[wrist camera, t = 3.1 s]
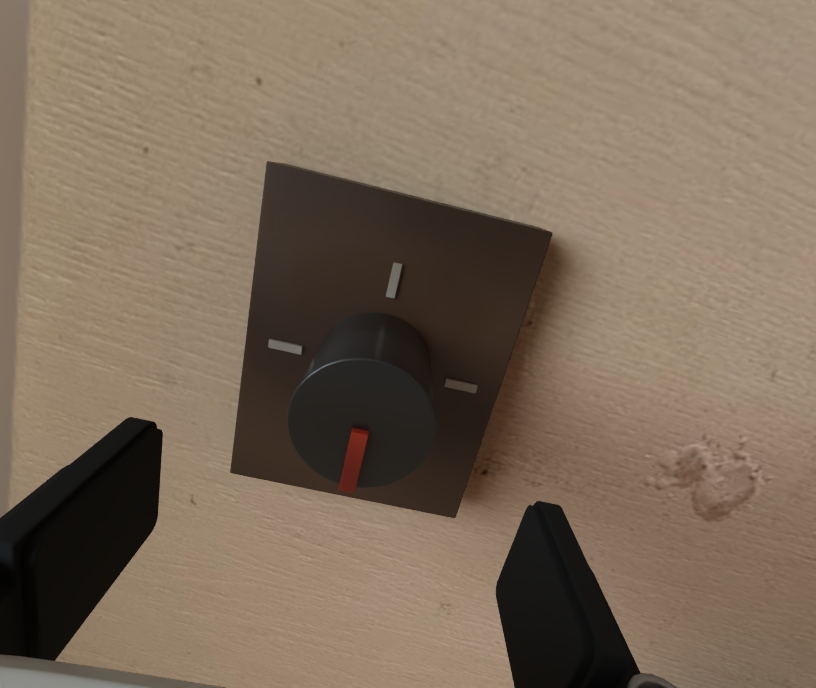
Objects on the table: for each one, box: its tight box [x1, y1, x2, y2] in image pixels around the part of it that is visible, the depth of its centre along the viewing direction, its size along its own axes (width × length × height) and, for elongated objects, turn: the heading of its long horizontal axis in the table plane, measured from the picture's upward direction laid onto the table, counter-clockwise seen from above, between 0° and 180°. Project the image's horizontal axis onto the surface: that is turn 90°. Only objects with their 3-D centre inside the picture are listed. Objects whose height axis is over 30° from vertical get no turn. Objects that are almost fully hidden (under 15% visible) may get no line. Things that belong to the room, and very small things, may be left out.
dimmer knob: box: [287, 312, 436, 493], centre depth 16 cm, size 5×5×5 cm
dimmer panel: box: [230, 161, 552, 518], centre depth 20 cm, size 14×11×2 cm
